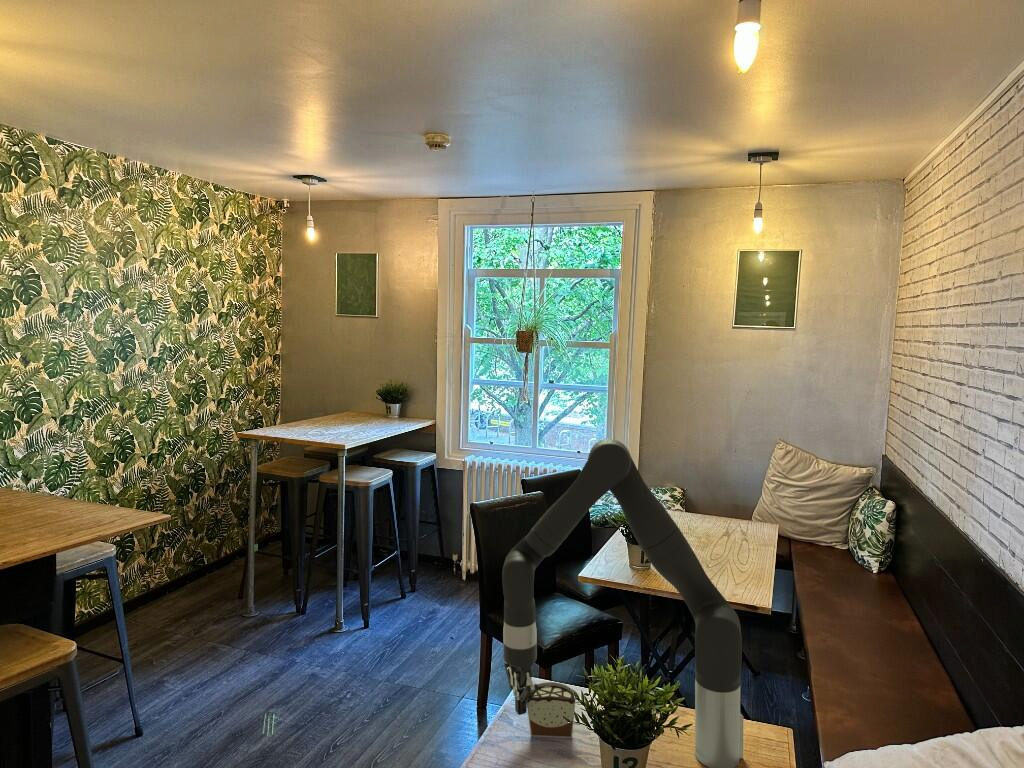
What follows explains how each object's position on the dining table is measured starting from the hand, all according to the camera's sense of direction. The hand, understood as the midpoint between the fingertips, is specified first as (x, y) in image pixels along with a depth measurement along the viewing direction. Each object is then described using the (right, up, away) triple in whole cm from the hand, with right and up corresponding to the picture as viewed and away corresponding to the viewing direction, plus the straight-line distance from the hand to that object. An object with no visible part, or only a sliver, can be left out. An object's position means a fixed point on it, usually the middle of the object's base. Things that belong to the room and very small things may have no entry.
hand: (520, 712), depth 149 cm
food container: (+7, -6, +4) cm, 10 cm away
